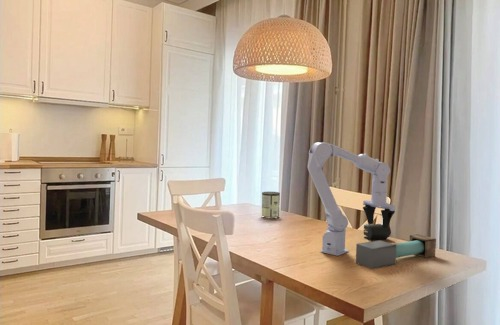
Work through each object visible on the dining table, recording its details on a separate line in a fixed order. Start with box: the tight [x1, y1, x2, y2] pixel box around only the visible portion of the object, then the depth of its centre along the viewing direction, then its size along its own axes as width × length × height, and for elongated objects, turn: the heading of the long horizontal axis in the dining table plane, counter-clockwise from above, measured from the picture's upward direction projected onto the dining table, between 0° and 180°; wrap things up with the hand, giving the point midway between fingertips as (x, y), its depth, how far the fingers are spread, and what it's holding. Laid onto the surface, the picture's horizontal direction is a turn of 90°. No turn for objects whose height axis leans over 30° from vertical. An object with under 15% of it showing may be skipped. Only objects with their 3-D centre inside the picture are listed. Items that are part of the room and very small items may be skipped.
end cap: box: [363, 223, 392, 241], centre depth 175 cm, size 10×7×7 cm
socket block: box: [409, 233, 437, 259], centre depth 152 cm, size 5×8×7 cm, turn 30°
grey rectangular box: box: [355, 239, 397, 270], centre depth 139 cm, size 12×8×7 cm, turn 120°
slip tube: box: [393, 240, 425, 259], centre depth 146 cm, size 24×5×5 cm, turn 120°
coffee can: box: [261, 191, 281, 219], centre depth 221 cm, size 10×10×14 cm
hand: (377, 225), depth 154 cm, fingers open, 7 cm apart
